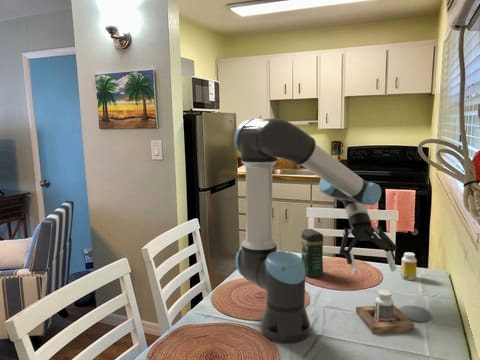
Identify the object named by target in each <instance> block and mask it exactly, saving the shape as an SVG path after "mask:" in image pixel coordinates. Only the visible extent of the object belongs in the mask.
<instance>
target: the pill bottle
mask: <svg viewBox="0 0 480 360" xmlns="http://www.w3.org/2000/svg"><path fill="white" fill-rule="evenodd" d="M393 305H394V300H393V299H392V292H391V291H389V290H386V289H379V290H378V291H377V297H375V300H374V306H375V315H374V320H375V321H376V322H377V323H379V322H394V321H393V320H394V318H393Z"/></svg>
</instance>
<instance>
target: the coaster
mask: <svg viewBox="0 0 480 360" xmlns="http://www.w3.org/2000/svg"><path fill="white" fill-rule="evenodd" d="M398 309H399V310H400V311H401V312H402V313H403V314H404V315H405V316H406V317H407V318H408V319H409V320H410V321H411V322H416V323H417V322H418V323H425V322H429V321H430V320H431V319H432V314H431V312H430V311H429V310H427V309H425V308H423V307H421V306H417V305H416V306H415V305H403V306H402V305H401V306H399V308H398Z"/></svg>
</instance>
